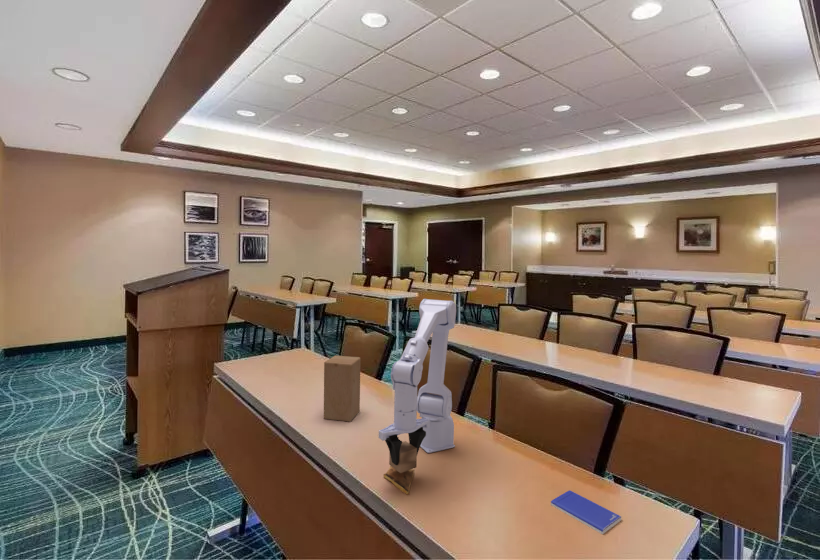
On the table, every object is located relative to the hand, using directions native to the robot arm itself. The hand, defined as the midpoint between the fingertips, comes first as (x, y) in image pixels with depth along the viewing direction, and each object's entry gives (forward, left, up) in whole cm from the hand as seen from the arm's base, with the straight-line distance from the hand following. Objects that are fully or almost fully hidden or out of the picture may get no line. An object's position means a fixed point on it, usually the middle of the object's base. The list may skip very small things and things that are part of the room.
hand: (404, 460), depth 104 cm
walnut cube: (0, -1, -2) cm, 2 cm away
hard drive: (-32, +29, -6) cm, 43 cm away
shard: (0, 0, -6) cm, 6 cm away
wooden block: (+2, -46, -5) cm, 46 cm away
